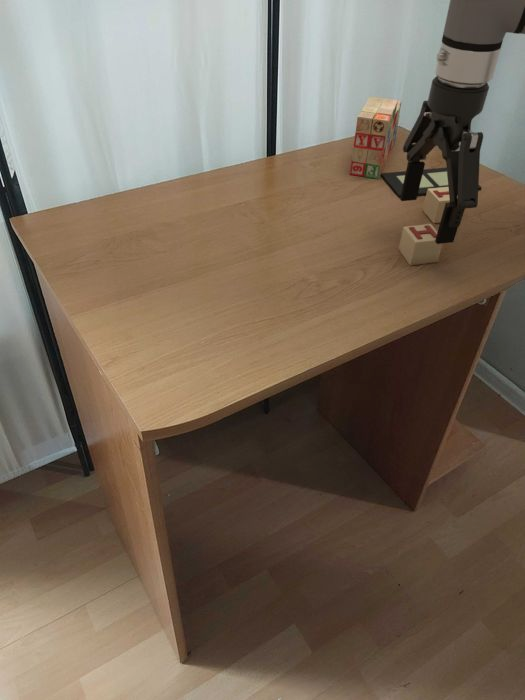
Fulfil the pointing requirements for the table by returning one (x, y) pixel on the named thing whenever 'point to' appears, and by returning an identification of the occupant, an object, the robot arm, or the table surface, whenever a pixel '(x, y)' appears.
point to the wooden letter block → (436, 203)
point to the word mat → (429, 180)
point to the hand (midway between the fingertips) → (425, 219)
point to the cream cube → (419, 244)
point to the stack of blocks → (374, 136)
